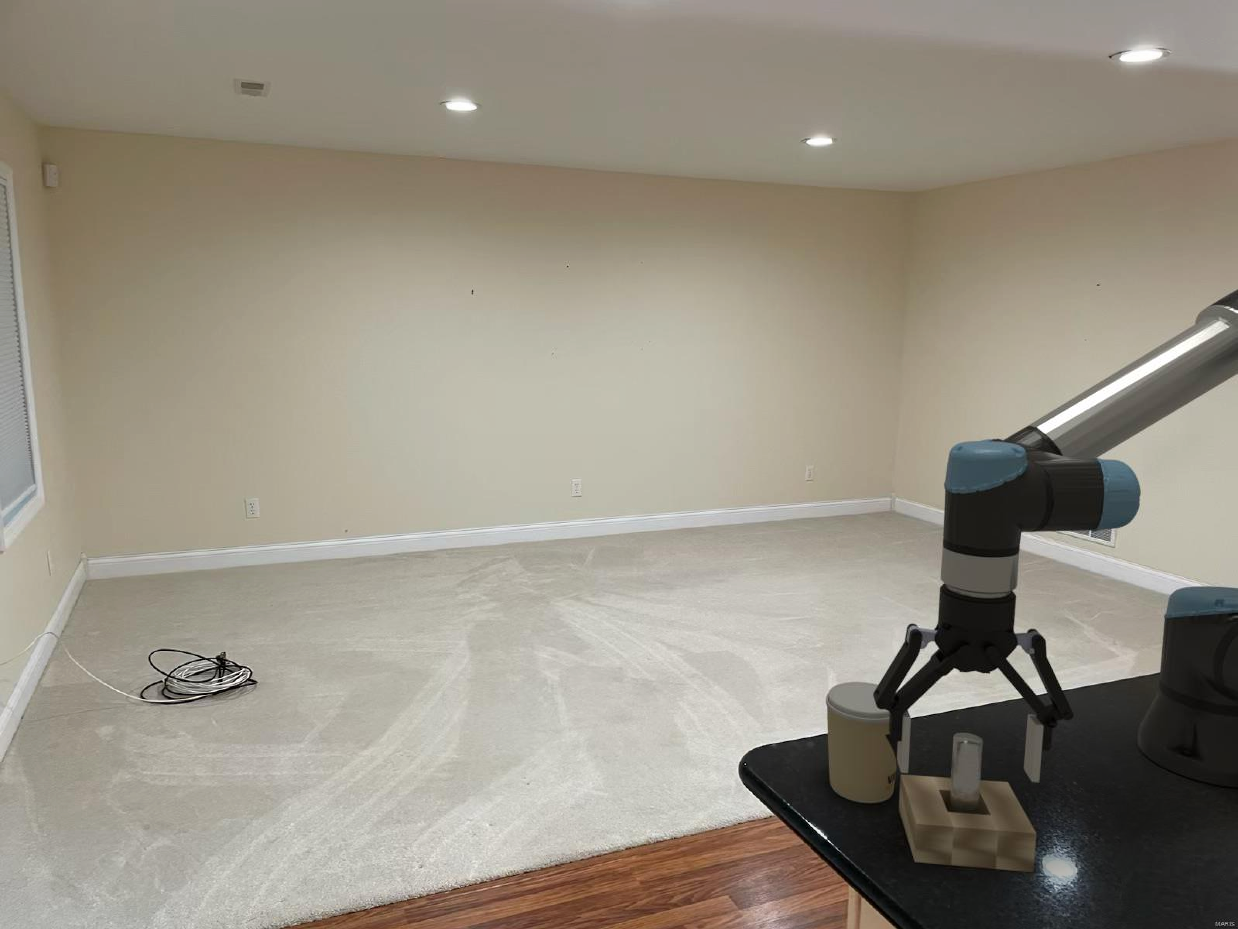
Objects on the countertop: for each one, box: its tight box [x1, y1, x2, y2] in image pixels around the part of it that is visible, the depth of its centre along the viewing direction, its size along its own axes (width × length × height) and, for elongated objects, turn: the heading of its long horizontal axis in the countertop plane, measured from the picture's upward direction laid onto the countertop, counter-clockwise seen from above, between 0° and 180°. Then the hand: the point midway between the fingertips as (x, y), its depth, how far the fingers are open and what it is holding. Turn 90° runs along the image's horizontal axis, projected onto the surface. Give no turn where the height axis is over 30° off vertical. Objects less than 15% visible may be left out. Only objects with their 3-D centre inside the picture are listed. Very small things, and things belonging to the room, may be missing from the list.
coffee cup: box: [825, 681, 898, 804], centre depth 103 cm, size 9×9×12 cm
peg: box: [949, 732, 984, 814], centre depth 92 cm, size 3×3×12 cm
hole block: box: [898, 774, 1037, 873], centre depth 93 cm, size 12×10×4 cm
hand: (966, 771), depth 92 cm, fingers open, 13 cm apart
